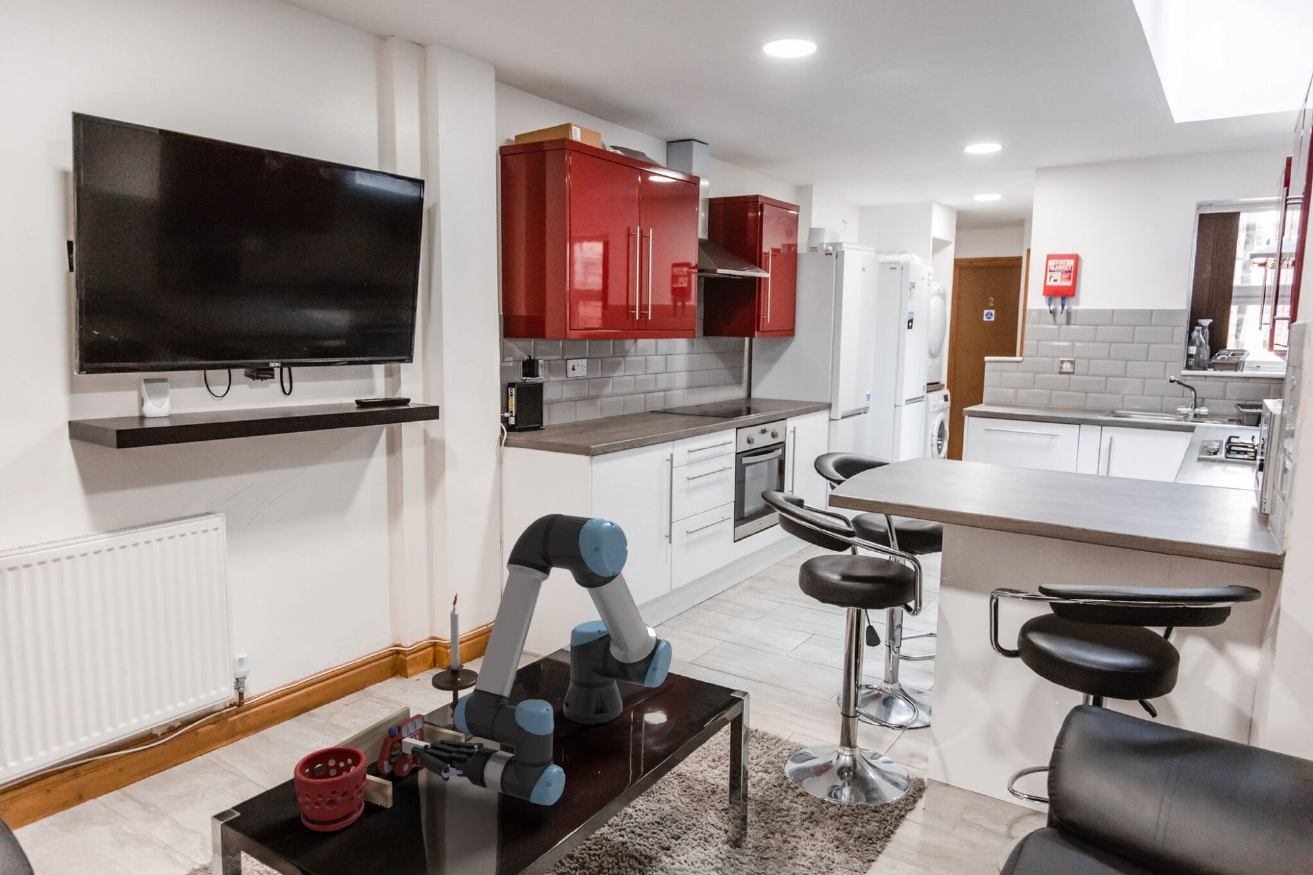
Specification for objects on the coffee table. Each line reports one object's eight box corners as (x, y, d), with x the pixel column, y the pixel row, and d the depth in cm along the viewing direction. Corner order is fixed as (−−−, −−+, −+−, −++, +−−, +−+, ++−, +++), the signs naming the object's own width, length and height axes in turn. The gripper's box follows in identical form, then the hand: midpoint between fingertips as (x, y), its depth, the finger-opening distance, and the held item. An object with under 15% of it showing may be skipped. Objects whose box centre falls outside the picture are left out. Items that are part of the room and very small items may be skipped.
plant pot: (296, 809, 165) (294, 752, 163) (365, 795, 170) (363, 740, 169) (295, 845, 153) (293, 784, 151) (370, 830, 158) (368, 770, 157)
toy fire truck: (370, 777, 177) (366, 730, 176) (414, 753, 188) (410, 709, 187) (392, 784, 173) (388, 736, 173) (436, 759, 184) (432, 714, 183)
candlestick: (469, 721, 204) (467, 584, 201) (486, 738, 195) (484, 595, 192) (426, 731, 198) (423, 591, 194) (441, 750, 189) (439, 603, 186)
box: (464, 754, 187) (464, 721, 186) (388, 808, 165) (387, 770, 165) (406, 738, 195) (405, 706, 194) (325, 787, 173) (324, 751, 172)
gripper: (473, 802, 163) (383, 774, 173) (512, 772, 175) (425, 748, 185) (473, 766, 162) (382, 740, 172) (512, 738, 174) (424, 716, 184)
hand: (404, 744), depth 178 cm, fingers closed
